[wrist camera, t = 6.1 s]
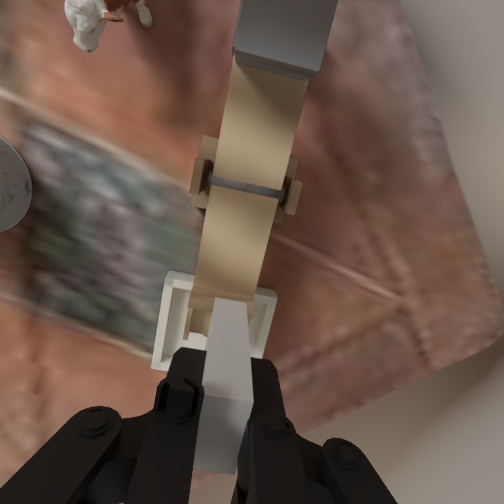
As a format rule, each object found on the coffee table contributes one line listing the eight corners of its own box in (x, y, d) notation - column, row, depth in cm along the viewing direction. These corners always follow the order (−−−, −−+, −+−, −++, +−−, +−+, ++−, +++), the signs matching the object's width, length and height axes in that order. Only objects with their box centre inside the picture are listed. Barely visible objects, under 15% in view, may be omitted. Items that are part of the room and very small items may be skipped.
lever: (246, -39, 20) (247, -90, 15) (334, -12, 20) (363, -55, 15) (183, 323, 29) (171, 362, 24) (245, 333, 29) (246, 374, 25)
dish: (169, 270, 32) (165, 277, 30) (275, 290, 33) (277, 298, 31) (155, 356, 34) (150, 368, 32) (254, 372, 35) (255, 384, 33)
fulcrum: (204, 135, 28) (194, 128, 21) (296, 157, 29) (315, 157, 22) (192, 203, 30) (179, 217, 23) (280, 222, 31) (293, 240, 24)
